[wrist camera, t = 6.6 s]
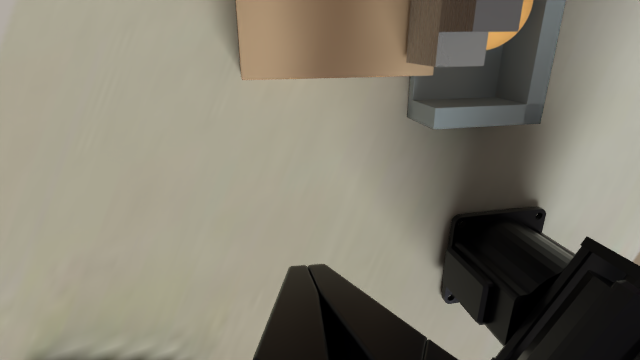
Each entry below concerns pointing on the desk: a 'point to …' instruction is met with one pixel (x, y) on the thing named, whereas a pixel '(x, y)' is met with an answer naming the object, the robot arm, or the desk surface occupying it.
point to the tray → (494, 80)
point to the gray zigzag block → (457, 30)
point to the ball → (502, 37)
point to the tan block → (324, 39)
